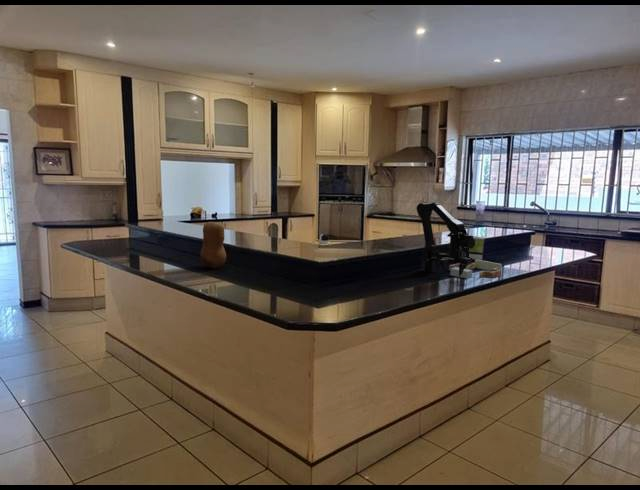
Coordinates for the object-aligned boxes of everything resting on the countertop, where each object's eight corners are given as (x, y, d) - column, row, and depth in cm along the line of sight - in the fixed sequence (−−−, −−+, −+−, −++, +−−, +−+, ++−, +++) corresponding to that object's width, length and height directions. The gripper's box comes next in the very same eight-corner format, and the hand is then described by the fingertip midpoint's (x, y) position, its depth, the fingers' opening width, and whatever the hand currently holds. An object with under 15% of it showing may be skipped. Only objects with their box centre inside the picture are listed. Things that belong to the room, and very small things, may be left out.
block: (467, 278, 245) (468, 271, 244) (450, 275, 251) (450, 268, 251) (472, 277, 249) (472, 270, 248) (455, 274, 256) (455, 267, 255)
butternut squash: (229, 266, 252) (229, 221, 247) (221, 271, 238) (222, 224, 234) (205, 264, 253) (205, 220, 249) (196, 269, 240) (196, 222, 236)
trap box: (487, 278, 246) (488, 273, 245) (448, 270, 264) (449, 265, 263) (507, 273, 260) (508, 268, 260) (469, 266, 278) (469, 261, 278)
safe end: (499, 272, 263) (500, 264, 262) (474, 267, 275) (475, 259, 274) (500, 272, 263) (501, 264, 262) (475, 267, 275) (476, 259, 275)
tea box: (458, 258, 304) (460, 236, 301) (458, 255, 313) (460, 234, 311) (482, 260, 299) (484, 238, 297) (481, 257, 309) (483, 236, 306)
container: (330, 253, 302) (330, 234, 300) (329, 255, 295) (330, 235, 293) (318, 252, 303) (319, 233, 301) (317, 254, 296) (318, 235, 293)
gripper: (479, 247, 240) (476, 275, 243) (448, 242, 254) (446, 269, 256) (467, 249, 233) (465, 278, 235) (437, 243, 246) (434, 271, 249)
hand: (452, 274), depth 244 cm, fingers open, 9 cm apart
